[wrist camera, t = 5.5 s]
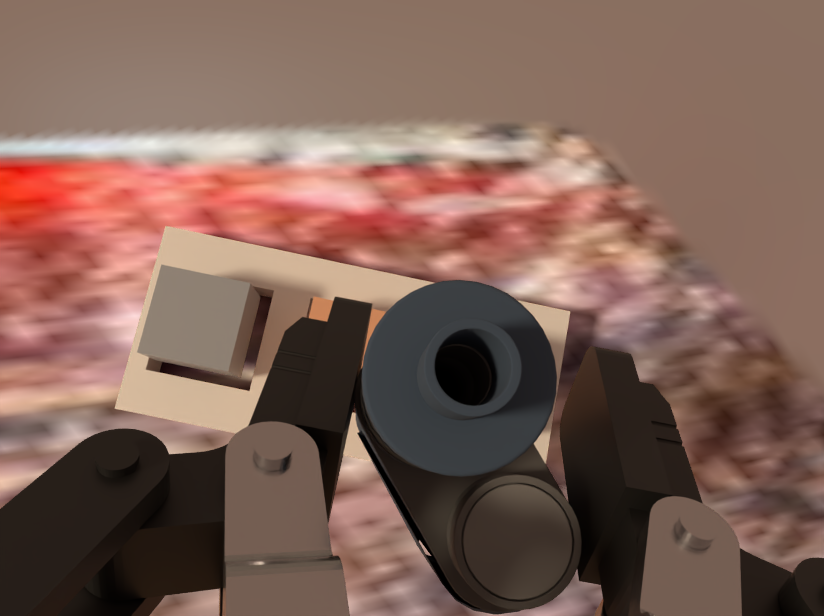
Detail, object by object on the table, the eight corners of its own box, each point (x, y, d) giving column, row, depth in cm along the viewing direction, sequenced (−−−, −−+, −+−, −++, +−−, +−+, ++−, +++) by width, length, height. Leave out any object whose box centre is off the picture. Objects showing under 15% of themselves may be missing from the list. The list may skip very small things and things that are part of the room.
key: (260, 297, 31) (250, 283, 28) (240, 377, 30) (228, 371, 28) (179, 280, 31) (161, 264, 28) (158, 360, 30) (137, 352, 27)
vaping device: (420, 353, 20) (515, 210, 8) (519, 527, 19) (781, 648, 7) (336, 400, 19) (308, 321, 8) (434, 578, 19) (567, 796, 7)
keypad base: (558, 319, 34) (570, 311, 32) (530, 492, 32) (540, 495, 30) (177, 238, 33) (165, 225, 31) (130, 410, 32) (114, 408, 30)
